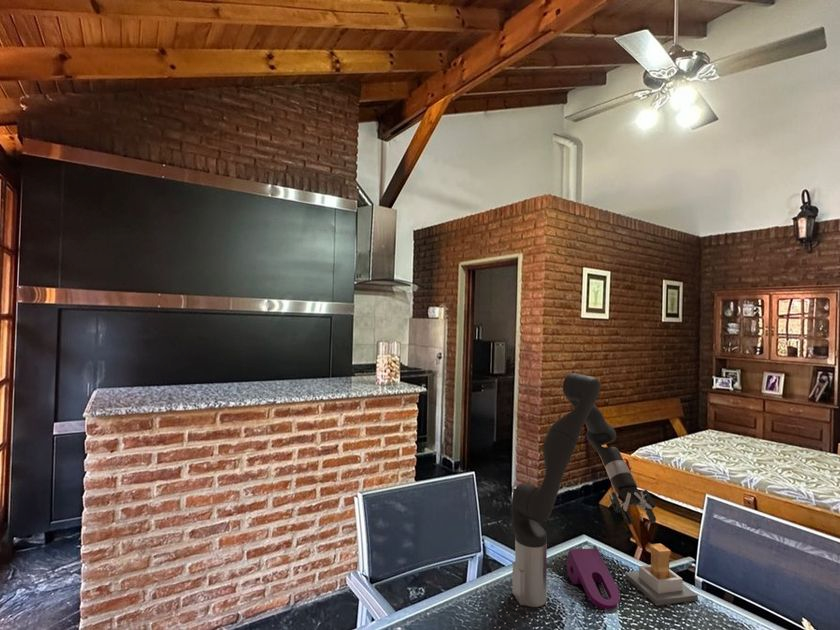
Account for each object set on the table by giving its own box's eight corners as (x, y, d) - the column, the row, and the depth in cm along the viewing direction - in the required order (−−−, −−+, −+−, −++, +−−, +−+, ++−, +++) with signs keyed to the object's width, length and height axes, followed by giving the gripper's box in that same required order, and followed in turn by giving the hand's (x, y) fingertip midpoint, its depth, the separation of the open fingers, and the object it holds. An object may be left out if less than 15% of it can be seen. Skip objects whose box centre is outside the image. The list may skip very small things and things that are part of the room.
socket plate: (656, 605, 127) (656, 588, 127) (625, 577, 141) (625, 562, 141) (697, 600, 130) (697, 583, 130) (663, 573, 144) (663, 558, 144)
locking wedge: (659, 588, 133) (659, 551, 133) (649, 580, 137) (649, 544, 137) (671, 587, 134) (670, 550, 134) (660, 578, 138) (660, 543, 138)
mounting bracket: (618, 622, 129) (591, 565, 145) (626, 604, 125) (597, 547, 141) (588, 624, 128) (564, 566, 144) (595, 606, 124) (569, 549, 140)
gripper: (606, 472, 151) (628, 520, 140) (643, 470, 154) (667, 517, 142) (598, 482, 156) (618, 529, 145) (633, 480, 159) (655, 525, 147)
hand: (642, 523), depth 144 cm, fingers open, 8 cm apart
